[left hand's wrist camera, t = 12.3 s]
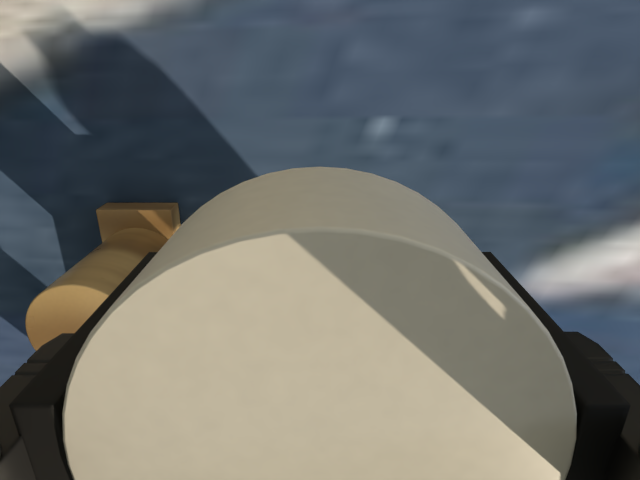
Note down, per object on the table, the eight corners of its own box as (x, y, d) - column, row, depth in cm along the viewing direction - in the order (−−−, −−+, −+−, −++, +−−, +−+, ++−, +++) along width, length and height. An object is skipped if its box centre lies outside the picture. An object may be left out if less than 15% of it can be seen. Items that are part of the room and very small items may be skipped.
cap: (520, 166, 10) (642, 227, 6) (469, 462, 13) (528, 619, 9) (118, 166, 10) (-4, 227, 6) (169, 463, 13) (110, 619, 9)
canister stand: (100, 202, 37) (5, 261, 26) (184, 202, 37) (124, 261, 26) (148, 452, 47) (95, 572, 36) (213, 452, 47) (180, 572, 36)
